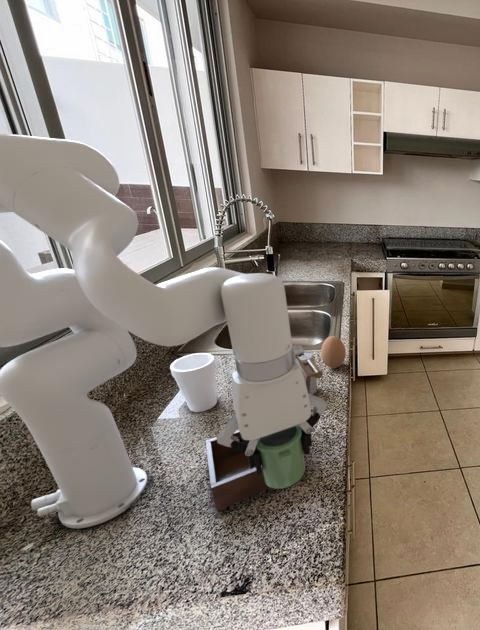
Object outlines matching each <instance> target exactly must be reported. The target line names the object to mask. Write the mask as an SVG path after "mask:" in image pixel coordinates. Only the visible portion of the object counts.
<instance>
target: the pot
mask: <svg viewBox="0 0 480 630" xmlns="http://www.w3.org/2000/svg"><path fill="white" fill-rule="evenodd" d="M301 435H302V428H301V427H300V426H299V425H295V426H293V427H290V428H287V429H284V430H281V431H279V432H276V433H273V434H270V435H267V436H264V437H261V438H259V440H258V443H257V445H256V448H257V449H258V453H259V458H260V463H261V468H262V473H263V478H264V482H265V484H266V485H267V486H269V487H271V488H270V489H276V490H279V489H280V490H281V489H286V488H289V487H291V486H293V485H295V484H297V482H299V481H300V480H301V479H302V478H303V476H304V475H305V474H304V472H305V473H306V463H305V456H304V455H305V454H304V451H303V448H302V441H301Z"/></svg>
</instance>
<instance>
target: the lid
mask: <svg viewBox="0 0 480 630" xmlns="http://www.w3.org/2000/svg"><path fill="white" fill-rule="evenodd" d="M296 359H297V360H298V362H299V364H300V367H301V369H302V372H303V375H304V379H305V382H306V387H307V391H308V393H309V390H310V379H311V377H316V379H321V378H322V377H323V375H324V374H323V371H322V370H321V368H320V367H319V366H318V364H317V363H316V362H315V359H314V360H313V359H309V360H307V362H301V360H300V359H299V357H298V356H297V358H296ZM305 366H308V367H309V369H310V370H311V372H312V373H309V372H308V371H307V369H306V368H305Z"/></svg>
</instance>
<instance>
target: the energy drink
mask: <svg viewBox="0 0 480 630" xmlns="http://www.w3.org/2000/svg"><path fill="white" fill-rule="evenodd" d="M298 357H299V359H300V360H301V362H307V360H309V359H313V360H314V361H315V355H314V354H313V352H311V351H307V350H306V351H305V350H304V354H301V355H299V356H298ZM305 368H306V369H307V371H308V372H309V373H312V372H311V370H310V369H309V367H308V366H305ZM315 393H318V382H317V378H316V377H311V379H310V390H309V394H311V395H314V394H315Z"/></svg>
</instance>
